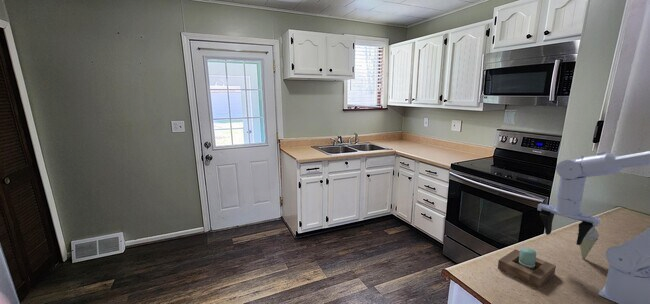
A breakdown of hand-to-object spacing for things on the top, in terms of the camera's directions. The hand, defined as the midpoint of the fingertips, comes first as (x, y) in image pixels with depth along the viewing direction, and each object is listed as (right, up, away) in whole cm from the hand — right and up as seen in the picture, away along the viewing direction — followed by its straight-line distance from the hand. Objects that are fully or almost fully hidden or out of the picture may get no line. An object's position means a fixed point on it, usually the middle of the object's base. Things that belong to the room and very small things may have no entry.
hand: (563, 238), depth 85 cm
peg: (-12, -10, -1) cm, 16 cm away
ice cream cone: (+11, -9, +5) cm, 15 cm away
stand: (-12, -10, -1) cm, 16 cm away
